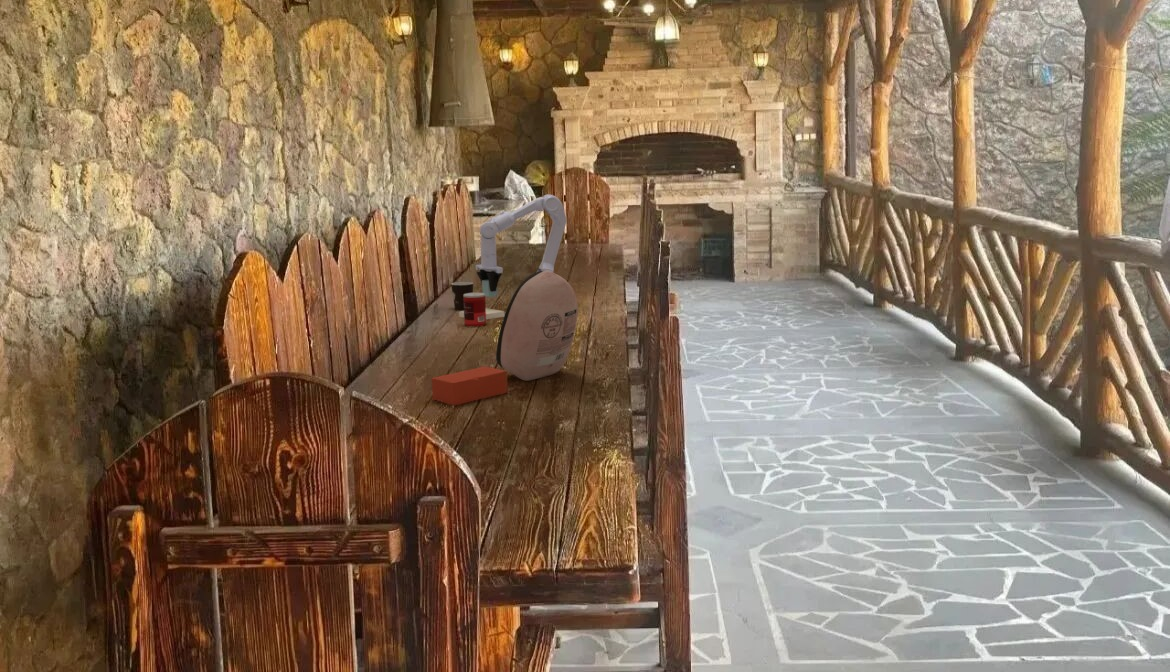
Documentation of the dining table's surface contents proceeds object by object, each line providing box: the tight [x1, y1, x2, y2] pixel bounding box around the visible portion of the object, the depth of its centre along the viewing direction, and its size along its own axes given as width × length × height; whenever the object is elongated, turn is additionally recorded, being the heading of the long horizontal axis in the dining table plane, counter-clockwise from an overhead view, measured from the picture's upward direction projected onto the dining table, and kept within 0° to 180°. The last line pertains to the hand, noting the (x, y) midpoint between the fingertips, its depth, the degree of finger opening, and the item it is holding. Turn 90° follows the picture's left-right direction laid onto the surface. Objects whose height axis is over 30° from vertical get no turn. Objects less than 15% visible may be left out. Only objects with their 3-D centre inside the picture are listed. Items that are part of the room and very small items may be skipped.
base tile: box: [458, 307, 506, 320], centre depth 393 cm, size 12×12×2 cm
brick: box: [431, 366, 508, 406], centre depth 273 cm, size 18×9×6 cm, turn 136°
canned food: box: [463, 292, 487, 327], centre depth 376 cm, size 8×8×11 cm
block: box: [481, 279, 498, 298], centre depth 396 cm, size 4×4×6 cm
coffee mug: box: [450, 281, 474, 311], centre depth 412 cm, size 12×9×10 cm
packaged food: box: [495, 270, 579, 382], centre depth 291 cm, size 22×20×30 cm
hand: (489, 290), depth 396 cm, fingers closed on block, 4 cm apart
